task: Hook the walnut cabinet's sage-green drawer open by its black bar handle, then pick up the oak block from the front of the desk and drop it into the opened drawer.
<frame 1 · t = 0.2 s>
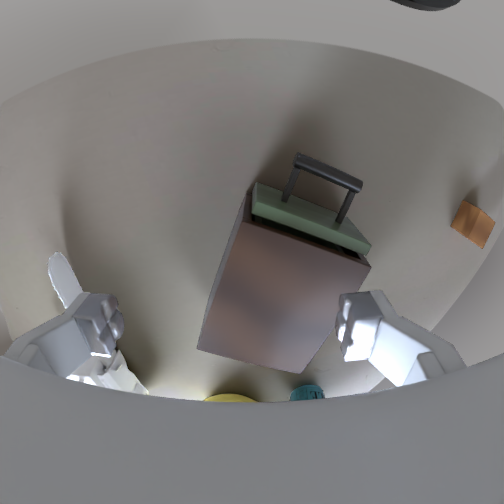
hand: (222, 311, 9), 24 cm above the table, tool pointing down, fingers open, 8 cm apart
block: (464, 218, 32), on the table
drawer: (292, 251, 29), point 5 cm above the table, slide at 0.5 cm
cabinet: (273, 266, 35), on the table
chainsaw: (90, 334, 43), on the table
beverage bottle: (305, 386, 47), on the table
vase: (232, 405, 50), on the table
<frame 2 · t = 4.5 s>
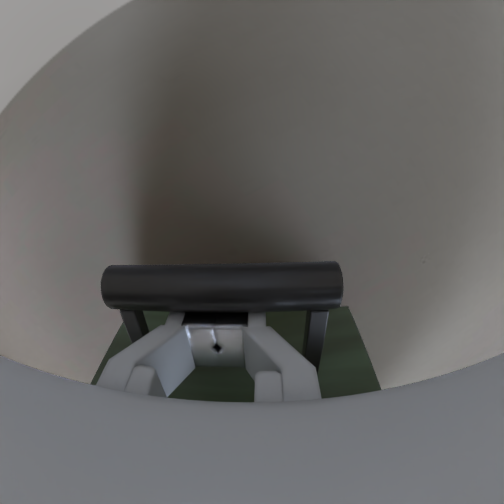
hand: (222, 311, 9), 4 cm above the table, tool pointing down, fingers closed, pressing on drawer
drawer: (238, 424, 12), point 5 cm above the table, slide at 2.7 cm, touching gripper
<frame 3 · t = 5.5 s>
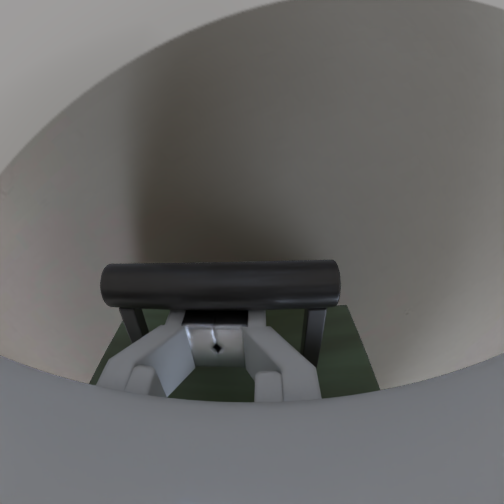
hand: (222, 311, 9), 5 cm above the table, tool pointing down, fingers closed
drawer: (237, 423, 12), point 5 cm above the table, slide at 6.4 cm
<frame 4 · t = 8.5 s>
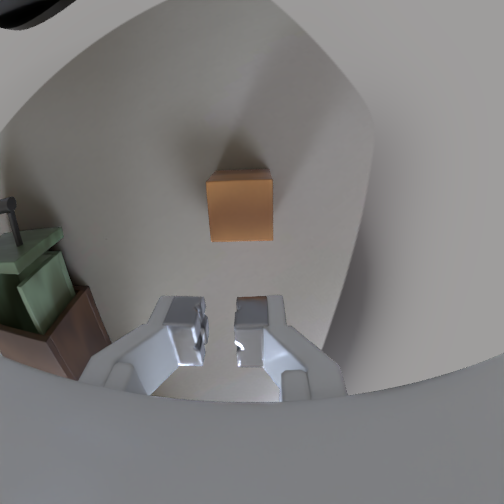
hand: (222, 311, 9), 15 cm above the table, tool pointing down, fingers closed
block: (243, 195, 23), on the table
drawer: (22, 284, 22), point 5 cm above the table, slide at 6.6 cm
cabinet: (73, 332, 31), on the table
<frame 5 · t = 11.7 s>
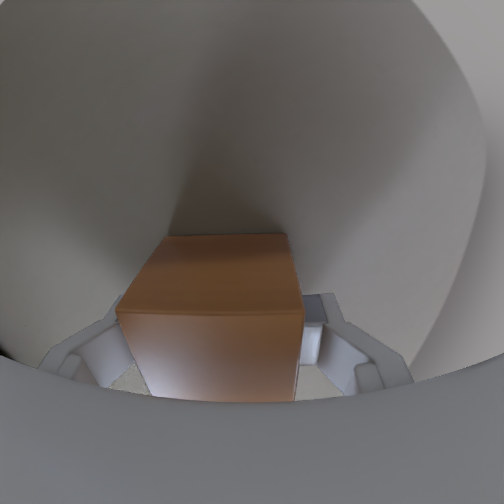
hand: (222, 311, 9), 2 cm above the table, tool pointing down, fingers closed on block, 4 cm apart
block: (228, 286, 11), on the table, touching gripper
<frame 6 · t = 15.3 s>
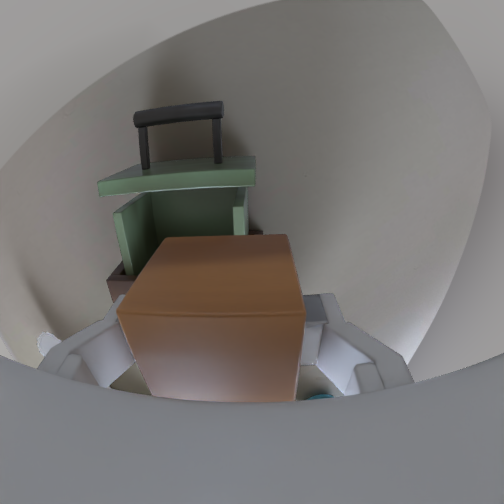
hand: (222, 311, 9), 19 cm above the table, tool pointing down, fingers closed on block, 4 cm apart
block: (228, 287, 11), point 18 cm above the table, touching gripper
drawer: (187, 221, 23), point 5 cm above the table, slide at 6.6 cm
cabinet: (208, 294, 32), on the table
chainsaw: (103, 391, 44), on the table
when the fingers open (8 cm above the table, at t = 19.4 s): block stays where it is, resting on drawer.
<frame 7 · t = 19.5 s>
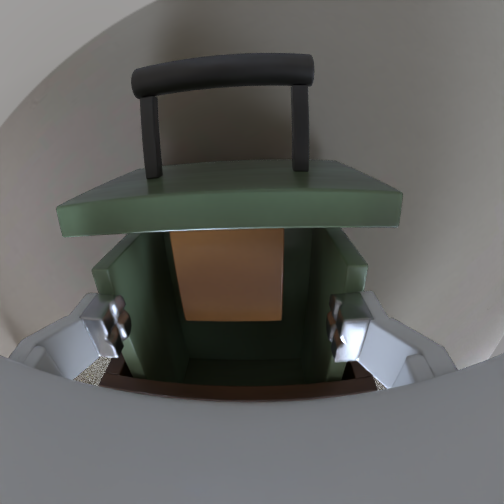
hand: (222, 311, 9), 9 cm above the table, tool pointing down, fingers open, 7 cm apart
block: (236, 238, 15), point 2 cm above the table, touching drawer
drawer: (233, 273, 13), point 5 cm above the table, slide at 7.0 cm, touching block
cabinet: (246, 359, 22), on the table
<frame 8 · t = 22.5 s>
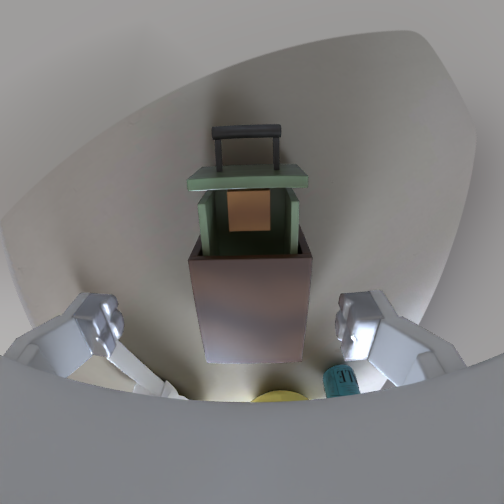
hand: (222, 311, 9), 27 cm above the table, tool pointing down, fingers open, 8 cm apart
block: (250, 200, 33), point 2 cm above the table, touching drawer
drawer: (249, 212, 31), point 5 cm above the table, slide at 7.0 cm, touching block
cabinet: (253, 276, 40), on the table
chainsaw: (140, 375, 52), on the table
beverage bottle: (336, 367, 50), on the table
vase: (278, 401, 55), on the table
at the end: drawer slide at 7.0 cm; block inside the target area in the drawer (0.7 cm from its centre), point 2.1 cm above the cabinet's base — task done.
